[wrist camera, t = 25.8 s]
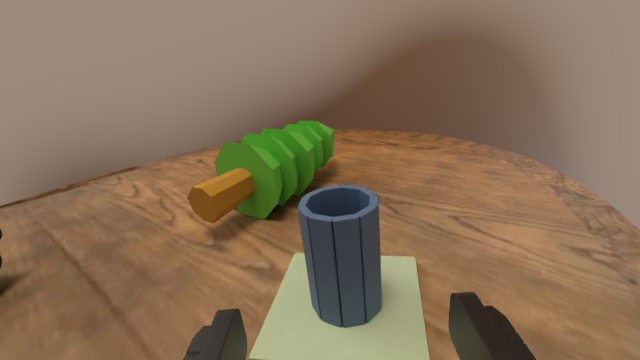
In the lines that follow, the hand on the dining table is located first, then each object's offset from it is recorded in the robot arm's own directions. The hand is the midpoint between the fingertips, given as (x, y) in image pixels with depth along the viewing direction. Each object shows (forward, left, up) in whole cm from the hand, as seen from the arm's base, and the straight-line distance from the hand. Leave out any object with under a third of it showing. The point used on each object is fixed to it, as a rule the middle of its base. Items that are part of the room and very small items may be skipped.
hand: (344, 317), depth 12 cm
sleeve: (-2, +11, -9) cm, 14 cm away
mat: (-2, +11, -10) cm, 15 cm away
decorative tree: (-13, +33, -10) cm, 37 cm away
